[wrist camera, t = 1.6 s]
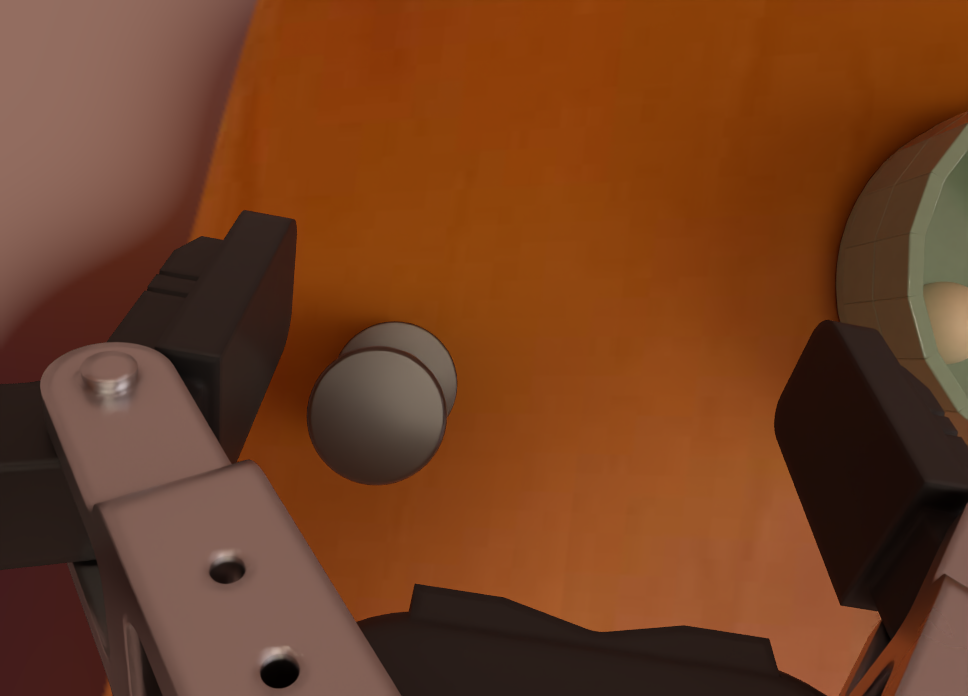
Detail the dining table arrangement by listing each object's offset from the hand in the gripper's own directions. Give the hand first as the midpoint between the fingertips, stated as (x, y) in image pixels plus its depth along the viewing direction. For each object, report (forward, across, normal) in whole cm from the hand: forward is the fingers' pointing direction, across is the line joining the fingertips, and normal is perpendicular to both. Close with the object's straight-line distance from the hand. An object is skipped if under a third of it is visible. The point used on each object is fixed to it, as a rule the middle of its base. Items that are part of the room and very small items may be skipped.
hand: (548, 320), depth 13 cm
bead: (+17, -18, +7) cm, 25 cm away
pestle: (+15, +3, +13) cm, 20 cm away
